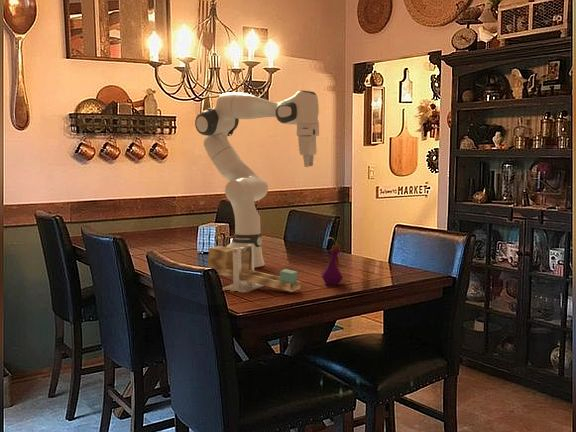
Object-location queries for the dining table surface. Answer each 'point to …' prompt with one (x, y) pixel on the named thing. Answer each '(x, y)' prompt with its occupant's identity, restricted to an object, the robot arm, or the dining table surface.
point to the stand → (237, 275)
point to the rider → (288, 276)
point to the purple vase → (332, 268)
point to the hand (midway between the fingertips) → (308, 166)
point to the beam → (244, 269)
